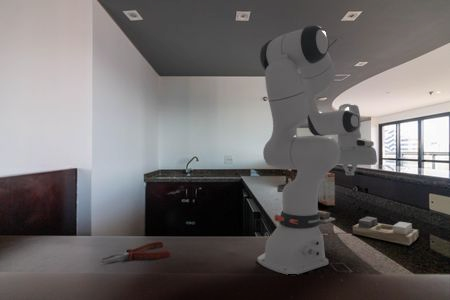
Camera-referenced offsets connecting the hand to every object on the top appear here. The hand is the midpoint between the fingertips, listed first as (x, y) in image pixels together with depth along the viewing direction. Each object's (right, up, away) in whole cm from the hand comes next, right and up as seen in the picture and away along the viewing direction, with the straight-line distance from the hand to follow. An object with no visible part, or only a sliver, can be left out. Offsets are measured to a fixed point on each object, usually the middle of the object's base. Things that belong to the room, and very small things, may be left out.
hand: (349, 175), depth 109 cm
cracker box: (+15, -26, +63) cm, 70 cm away
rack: (+12, -24, -5) cm, 27 cm away
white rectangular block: (+16, -22, -10) cm, 29 cm away
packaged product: (-7, -25, +24) cm, 36 cm away
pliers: (-82, -25, -23) cm, 89 cm away
